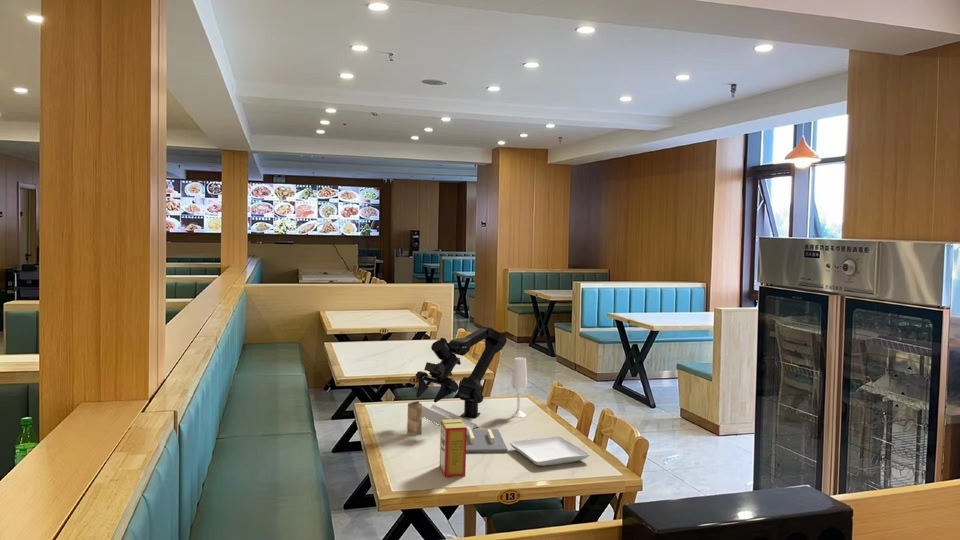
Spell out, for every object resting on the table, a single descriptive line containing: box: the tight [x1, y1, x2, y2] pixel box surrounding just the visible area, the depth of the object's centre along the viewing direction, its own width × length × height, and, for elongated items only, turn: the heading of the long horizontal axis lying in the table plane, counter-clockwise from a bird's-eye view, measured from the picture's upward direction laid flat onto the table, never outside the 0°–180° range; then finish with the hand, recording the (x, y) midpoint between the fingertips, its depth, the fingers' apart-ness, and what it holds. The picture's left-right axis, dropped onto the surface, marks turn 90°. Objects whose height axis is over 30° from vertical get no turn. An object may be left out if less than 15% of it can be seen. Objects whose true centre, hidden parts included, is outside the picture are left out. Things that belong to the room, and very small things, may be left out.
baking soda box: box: [439, 419, 467, 478], centre depth 206 cm, size 10×6×16 cm
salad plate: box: [509, 435, 591, 467], centre depth 224 cm, size 21×21×3 cm
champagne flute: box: [509, 356, 528, 418], centre depth 270 cm, size 7×7×24 cm
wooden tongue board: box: [406, 400, 423, 437], centre depth 242 cm, size 4×4×12 cm
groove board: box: [466, 428, 508, 454], centre depth 235 cm, size 22×16×3 cm
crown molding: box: [422, 404, 479, 429], centre depth 261 cm, size 31×12×4 cm, turn 36°
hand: (425, 399), depth 246 cm, fingers open, 9 cm apart
